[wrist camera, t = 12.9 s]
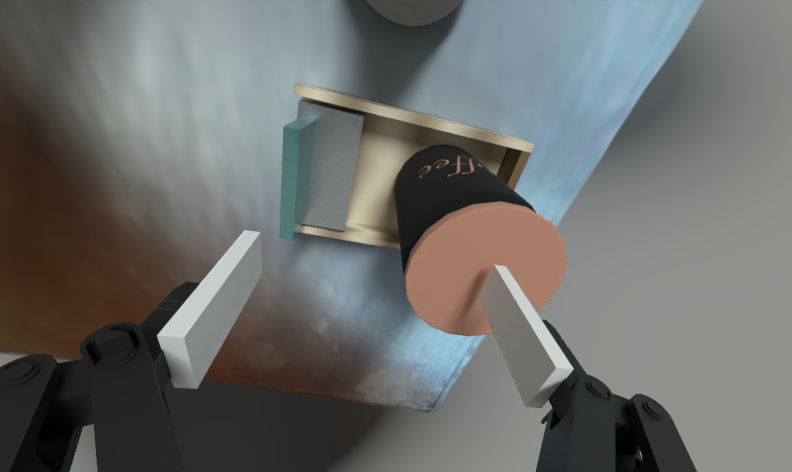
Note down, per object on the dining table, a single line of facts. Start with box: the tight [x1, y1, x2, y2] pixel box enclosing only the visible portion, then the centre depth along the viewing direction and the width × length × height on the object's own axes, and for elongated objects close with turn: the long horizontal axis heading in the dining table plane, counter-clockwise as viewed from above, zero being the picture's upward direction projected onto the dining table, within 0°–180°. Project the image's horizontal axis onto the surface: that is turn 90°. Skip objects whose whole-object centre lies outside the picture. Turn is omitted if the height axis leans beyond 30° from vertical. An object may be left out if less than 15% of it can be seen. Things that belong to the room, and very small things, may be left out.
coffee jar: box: [394, 145, 567, 336], centre depth 26 cm, size 11×11×18 cm
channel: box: [294, 84, 534, 250], centre depth 32 cm, size 24×15×4 cm, turn 77°
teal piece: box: [280, 99, 365, 240], centre depth 28 cm, size 6×13×9 cm, turn 167°
